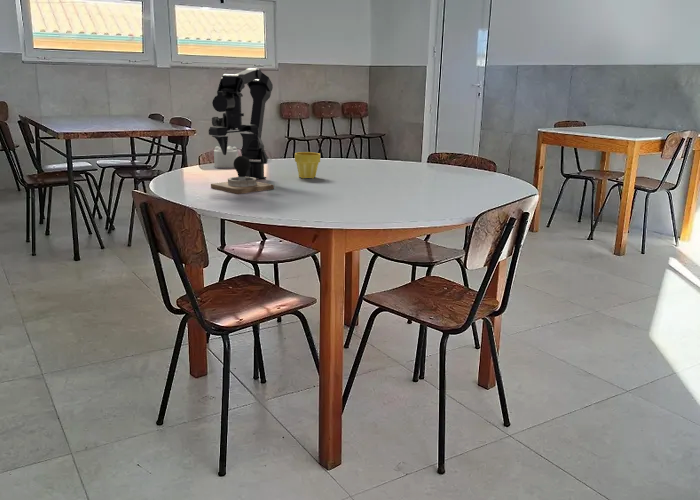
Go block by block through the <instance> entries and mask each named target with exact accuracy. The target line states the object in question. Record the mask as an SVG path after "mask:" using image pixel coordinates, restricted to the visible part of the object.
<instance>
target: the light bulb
mask: <svg viewBox="0 0 700 500" xmlns="http://www.w3.org/2000/svg"><path fill="white" fill-rule="evenodd" d="M249 160H250V159H249ZM249 160H248V158H246V157H245V156H242V155H238V157H237V158H236V159H235V160H234V164H233V165H234V170H235V171H236V174H237V177H239V181H246V174H247V171H248V169H249V167H250V161H249Z"/></svg>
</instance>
